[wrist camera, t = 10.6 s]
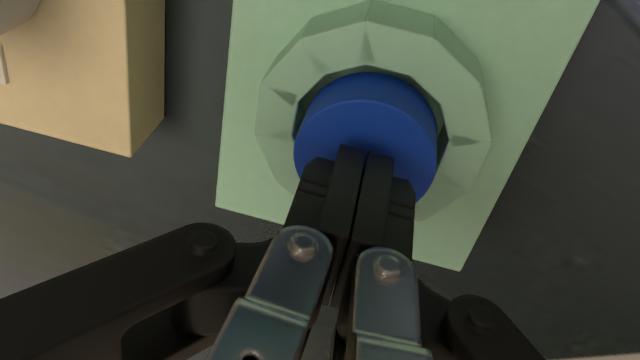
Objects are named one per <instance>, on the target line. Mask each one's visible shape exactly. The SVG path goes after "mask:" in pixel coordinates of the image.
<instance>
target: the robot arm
mask: <svg viewBox="0 0 640 360" xmlns="http://www.w3.org/2000/svg"><path fill="white" fill-rule="evenodd" d="M365 154H366V150H364V149H360V148H356V147H352V146H348V145H345V144H341V143H340V147H339V150H338V154H337V158H336V161H333V160H329V159H325V158H322V157H318V156H317V157H315V158H314V159H313V160H311V161H310V162H309V163H308V164H306V165H305V168H304V170H303V173H302V176H301V179H300V182H299V184H298V187H297V190H296V193H295V196H294V198H293V201H292V204H291V207H290V210H289V212H288V215H287V218H286V221H285V223H284V226H283V228H282V229H281V230H280V231H278V232H277V233H276V234H275V236H274V237H273V238H271V239H269V240H266V241H263V242H258V243H236V242H235V239H234V237H233V236H232V235H231V233H230V232H228V231H227V230H226V229H224V228H223V227H221V226H218V225H215V224H211V223H194V224H190V225H186V226H184V227H181V228H179V229H176V230H174V231H171V232H169V233H166V234H164V235H161V236H159V237H156V238H154V239H151V240H148V241H146V242H143V243H141V244H138V245H136V246H133V247H131V248H128V249H126V250H123V251H121V252H118V253H116V254H113V255H110V256H108V257H105V258H103V259H100V260H98V261H95V262H93V263H90V264H88V265H85V266H83V267H80V268H78V269H75V270H72V271H70V272H67V273H65V274H62V275H60V276H57V277H55V278H52V279H50V280H47V281H45V282H42V283H40V284H37V285H34V286H32V287H29V288H27V289H24V290H22V291H19V292H17V293H14V294H12V295H9V296H7V297H4V298H2V299H0V360H186V359H188V358H190V357H192V356H194V355H195V354H197V353H199V352H201V351H202V350H204V349H206V348H208V347H209V346H211V345H212V347H211V349H210V351H209V353H208V355H207V357H206V359H205V360H301V358H302V355H303V352H304V349H305V346H306V343H307V340H308V337H309V334H310V331H311V328H312V326H313V325H314V324H315V322H316V320H317V317H318V314H319V311H320V307H321V304H322V305H326V306H328V303H329V299H330V296H331V293H332V290H333V287H334V291H333V296H332V300H331V305H330V307H334V308H338V309H339V313H338V318H337V322H336V325H335V328H334V331H333V334H332V341H331V350H330V360H545V359H544V358H543V357H542V355H541V354H540V353H539V352H538V351H537V350H536V349H535V347H534V346H533V345H532V344H531V343H530V342H529V341H528V339H527V338H526V337H525V336H524V335H523V334H522V333H521V331H520V330H519V329H518V328H517V327H516V326H515V325H514V323H513V322H512V321H511V320H510V319H509V318H508V317H507V315H506V314H505V313H504V312H503V311H502V310H501V309H500V308H499V307H498V306H496V305H495V304H494V303H492V302H491V301H489V300H487V299H485V298H482V297H479V296H475V295H462V296H459V297H457V298H455V299H454V300H452V301H450V300H448V299H446V298H444V297H442V296H441V295H439V294H437V293H435V292H434V291H432V290H430V289H429V288H428V287H427V286H425V285H424V284H423V283H422V282H421V280H420V279H419V278H418V276H417V271H416V268H415V267H414V265H413V263H412V253H413V235H414V218H415V200H416V194H415V192H414V190H413V188H412V186H411V184H410V182H409V180H405V179H402V178H398V177H394V176H393V168H394V157H391V156H387V155H383V154H379V153H375V152H372V151H368V153H367V156H366V159H365ZM364 159H365V163H364ZM363 164H364V166H363ZM335 280H336V281H335ZM334 283H335V286H334Z"/></svg>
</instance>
